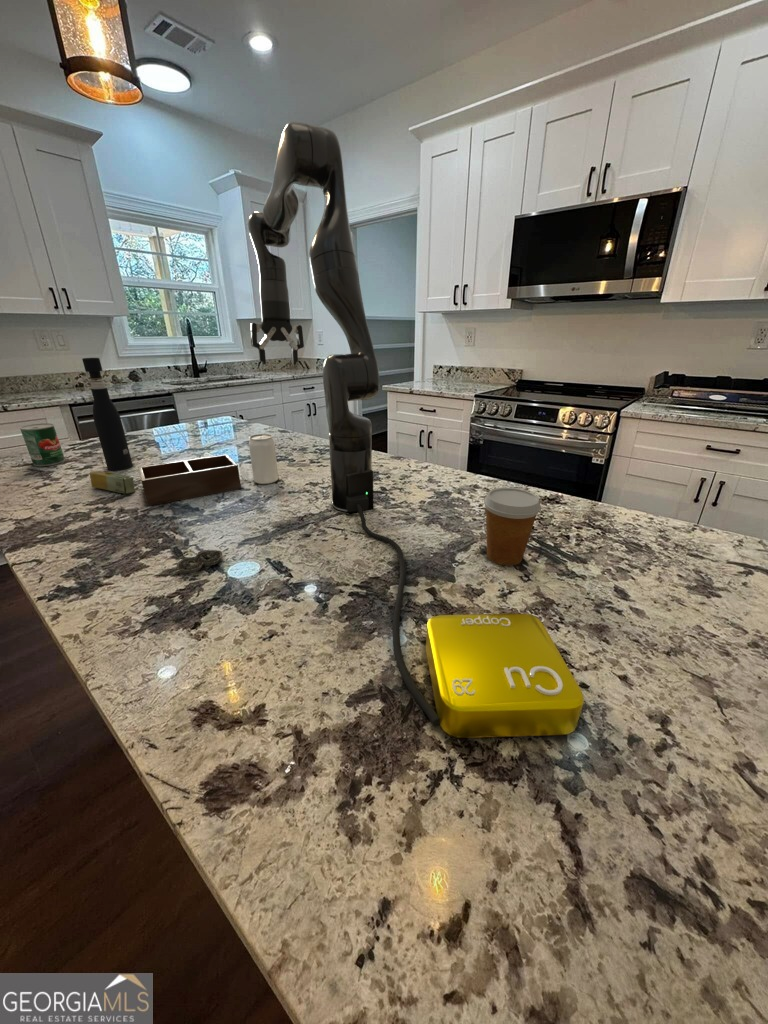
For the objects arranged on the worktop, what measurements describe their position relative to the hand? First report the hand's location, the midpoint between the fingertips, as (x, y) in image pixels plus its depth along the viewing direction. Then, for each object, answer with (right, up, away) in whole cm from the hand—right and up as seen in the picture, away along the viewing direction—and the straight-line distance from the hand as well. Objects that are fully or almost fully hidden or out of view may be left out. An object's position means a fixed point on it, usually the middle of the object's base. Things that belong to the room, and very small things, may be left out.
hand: (279, 364), depth 119 cm
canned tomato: (-71, -27, +7) cm, 76 cm away
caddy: (-19, -37, -13) cm, 43 cm away
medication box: (-38, -37, -13) cm, 55 cm away
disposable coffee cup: (+52, -51, -42) cm, 84 cm away
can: (-2, -34, -6) cm, 35 cm away
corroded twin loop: (-2, -52, -45) cm, 69 cm away
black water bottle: (-47, -29, +3) cm, 56 cm away
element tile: (+43, -63, -69) cm, 103 cm away
